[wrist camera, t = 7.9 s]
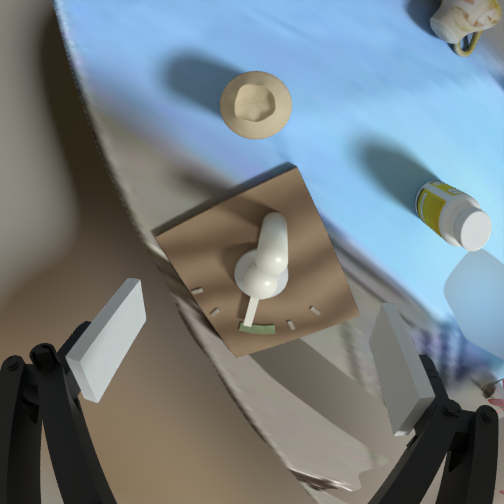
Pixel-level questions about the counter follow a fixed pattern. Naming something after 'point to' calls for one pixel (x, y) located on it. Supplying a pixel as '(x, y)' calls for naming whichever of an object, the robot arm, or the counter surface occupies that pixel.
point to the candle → (255, 105)
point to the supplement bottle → (453, 215)
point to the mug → (464, 21)
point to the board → (247, 237)
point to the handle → (264, 264)
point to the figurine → (498, 403)
